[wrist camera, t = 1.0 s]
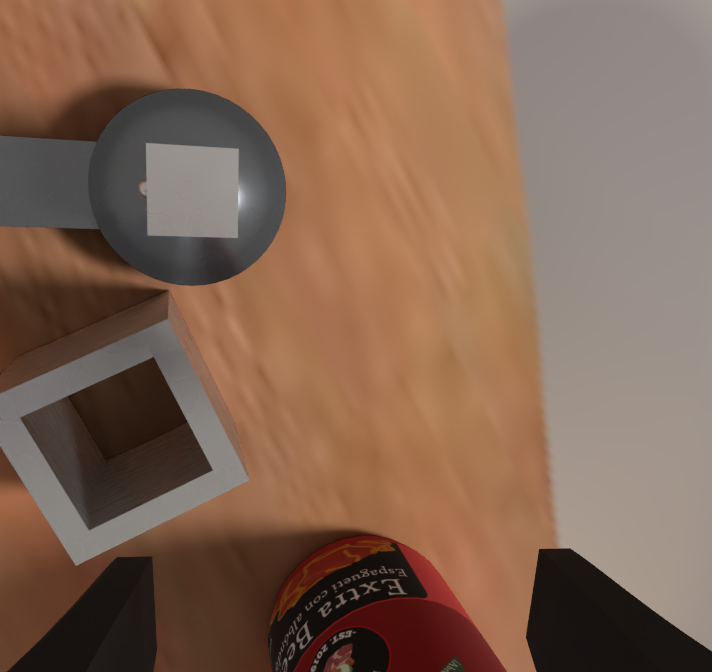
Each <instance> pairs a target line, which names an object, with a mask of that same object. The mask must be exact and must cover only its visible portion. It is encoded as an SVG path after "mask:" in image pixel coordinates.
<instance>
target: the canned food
mask: <svg viewBox="0 0 712 672" xmlns="http://www.w3.org/2000/svg"><path fill="white" fill-rule="evenodd" d="M268 645H269V653H270V660H271V666H272V671H273V672H507V671H506V670H505V668H504V667H503V665H502V664H501V662H500V661H499V659H498V658H497V657H496V655H495V654H494V652H493V651H492V649H491V648H490V646H489V645H488V643H487V642H486V641H485V639H484V638H483V636H482V635H481V633H480V632H479V630H478V629H477V627H476V626H475V624H474V623H473V622H472V620H471V619H470V617H469V616H468V614H467V613H466V611H465V610H464V608H463V607H462V606H461V604H460V603H459V601H458V600H457V598H456V597H455V595H454V594H453V592H452V591H451V589H450V588H449V587H448V585H447V584H446V582H445V581H444V579H443V578H442V576H441V575H440V573H439V572H438V571H437V570H436V569H435V567H434V566H433V565H432V564H431V563H430V561H428V560H427V559H426V558H424V557H423V556H422V555H420V554H419V553H418V552H416V551H415V550H413V549H411V548H410V547H408V546H406V545H404V544H401V543H399V542H397V541H395V540H393V539H388V538H384V537H379V536H356V537H351V538H345V539H341V540H339V541H336V542H333V543H331V544H328V545H326V546H324V547H322V548H321V549H319V550H317V551H316V552H314V553H312V554H311V555H310V556H308V557H307V558H306V559H305V560H304V561H303V562H302V563H300V564H299V565H298V566H297V567H296V568H295V570H294V571H293V572H292V573H291V575H290V576H289V577H288V578H287V580H286V581H285V583H284V585H283V587H282V589H281V590H280V592H279V594H278V596H277V600H276V603H275V606H274V609H273V613H272V617H271V621H270V627H269V637H268Z"/></svg>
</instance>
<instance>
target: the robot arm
mask: <svg viewBox="0 0 712 672" xmlns="http://www.w3.org/2000/svg"><path fill="white" fill-rule="evenodd" d="M526 639H527V642H528V645H529V649H530V652H531V655H532V658H533V662H534V665H535V668H536V671H537V672H712V651H710V650H709V649H707V648H706V647H704V646H703V645H701V644H700V643H698V642H697V641H695V640H694V639H692V638H691V637H689V636H688V635H687V634H685V633H684V632H682V631H681V630H679V629H678V628H677V627H675V626H674V625H672V624H671V623H669V622H668V621H667V620H665V619H664V618H663V617H661V616H660V615H658V614H657V613H656V612H654V611H653V610H651V609H650V608H649V607H648V606H646V605H645V604H643V603H642V602H641V601H640V600H638V599H637V598H636V597H634V596H633V595H631V594H630V593H629V592H628V591H626V590H625V589H624V588H622V587H621V586H620V585H619V584H617V583H616V582H615V581H613V580H612V579H611V578H609V577H608V576H607V575H606V574H604V573H603V572H602V571H600V570H599V569H598V568H596V567H595V566H594V565H592V564H591V563H590V562H588V561H587V560H586V559H584V558H583V557H582V556H580V555H579V554H577V553H576V552H574V551H573V550H571V549H539V554H538V561H537V567H536V574H535V581H534V587H533V594H532V600H531V607H530V614H529V620H528V627H527V634H526ZM156 652H157V643H156V623H155V604H154V585H153V566H152V557H117V558H116V559H115V560H114V561H113V562H111V563H110V565H109V566H108V567H107V568H106V569H105V570H104V571H103V573H102V574H101V575H100V576H99V577H98V578H97V579H96V580H95V582H94V583H93V584H92V585H91V586H90V587H89V588H88V590H87V591H86V592H85V593H84V594H83V595H82V596H81V597H80V598H79V600H78V601H77V602H76V603H75V604H74V605H73V606H72V607H71V608H70V609H69V610H68V611H67V613H66V614H65V615H64V616H63V617H62V618H61V619H60V620H59V621H58V622H57V623H56V624H55V625H54V626H53V627H52V628H51V629H50V630H49V631H48V632H47V633H46V635H45V636H44V637H43V638H42V639H41V640H40V641H39V642H38V643H37V644H36V645H35V646H34V647H33V648H31V649H30V650H29V651H28V652H27V653H26V654H25V655H24V656H23V657H22V658H21V659H20V660H19V661H18V662H17V663H16V664H15V665H14V666H13V667H11V668H10V669H9V670H8V671H7V672H153V669H154V664H155V658H156Z"/></svg>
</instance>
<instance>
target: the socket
mask: <svg viewBox="0 0 712 672" xmlns="http://www.w3.org/2000/svg"><path fill="white" fill-rule="evenodd" d="M153 357H154V358H155V360H156V362H157V364H158V366H159V368H160V370H161V372H162V374H163V376H164V377H165V379H166V381H167V383H168V385H169V387H170V389H171V391H172V393H173V395H174V397H175V398H176V400H177V402H178V404H179V406H180V408H181V410H182V412H183V414H184V416H185V418H186V419H187V421H188V422H187V423H185V424H183V425H181V426H179V427H177V428H175V429H173V430H170V431H168V432H166V433H164V434H162V435H160V436H158V437H156V438H153V439H151V440H149V441H147V442H145V443H143V444H141V445H139V446H137V447H134V448H132V449H130V450H128V451H126V452H124V453H122V454H120V455H117V456H115V457H113V458H111V459H109V460H107V461H106V460H105V459H104V457H103V455H102V454H101V452H100V450H99V448H98V447H97V445H96V443H95V442H94V440H93V438H92V436H91V435H90V433H89V431H88V429H87V428H86V426H85V424H84V423H83V421H82V419H81V417H80V416H79V414H78V412H77V411H76V409H75V407H74V405H73V404H72V402H71V400H70V398H69V397H68V396H69V395H71V394H73V393H75V392H77V391H80V390H82V389H84V388H86V387H89V386H91V385H93V384H95V383H97V382H100V381H102V380H104V379H106V378H108V377H111V376H113V375H115V374H117V373H119V372H122V371H124V370H126V369H128V368H130V367H133V366H135V365H137V364H139V363H142V362H144V361H146V360H148V359H150V358H153ZM0 447H1V448H2V450H3V452H4V453H5V455H6V456H7V458H8V459H9V461H10V463H11V464H12V466H13V467H14V469H15V471H16V472H17V474H18V475H19V477H20V478H21V480H22V482H23V483H24V485H25V486H26V488H27V489H28V491H29V493H30V494H31V496H32V497H33V499H34V501H35V502H36V504H37V505H38V507H39V508H40V510H41V512H42V513H43V515H44V516H45V518H46V519H47V521H48V523H49V524H50V526H51V527H52V529H53V531H54V532H55V534H56V535H57V537H58V538H59V540H60V542H61V543H62V545H63V546H64V548H65V549H66V551H67V553H68V554H69V556H70V557H71V559H72V561H73V562H74V564H75V565H76V566H77V565H79V564H81V563H83V562H85V561H87V560H89V559H91V558H93V557H95V556H97V555H99V554H101V553H103V552H105V551H107V550H109V549H111V548H113V547H115V546H117V545H119V544H121V543H123V542H125V541H127V540H129V539H131V538H133V537H135V536H138V535H140V534H142V533H144V532H146V531H148V530H150V529H152V528H154V527H156V526H158V525H160V524H162V523H164V522H166V521H168V520H170V519H172V518H174V517H176V516H178V515H180V514H182V513H184V512H186V511H188V510H190V509H192V508H194V507H196V506H198V505H200V504H203V503H205V502H207V501H209V500H211V499H213V498H215V497H217V496H219V495H221V494H223V493H225V492H227V491H229V490H231V489H233V488H235V487H237V486H239V485H241V484H243V483H245V482H247V481H249V476H248V472H247V468H246V464H245V460H244V456H243V452H242V448H241V444H240V440H239V436H238V432H237V428H236V424H235V422H234V420H233V418H232V416H231V414H230V412H229V410H228V408H227V406H226V404H225V402H224V400H223V398H222V396H221V394H220V392H219V389H218V387H217V385H216V383H215V381H214V379H213V377H212V375H211V373H210V371H209V369H208V367H207V365H206V363H205V361H204V359H203V357H202V355H201V353H200V351H199V349H198V347H197V345H196V343H195V341H194V339H193V337H192V335H191V333H190V331H189V329H188V327H187V325H186V323H185V321H184V319H183V317H182V315H181V313H180V311H179V309H178V307H177V305H176V303H175V301H174V299H173V297H172V295H171V293H170V291H167V292H164V293H162V294H160V295H158V296H155V297H153V298H151V299H148V300H146V301H144V302H142V303H139V304H137V305H135V306H132V307H130V308H128V309H126V310H123V311H121V312H119V313H117V314H114V315H112V316H110V317H107V318H105V319H103V320H101V321H98V322H96V323H94V324H91V325H89V326H87V327H85V328H82V329H80V330H78V331H76V332H73V333H71V334H69V335H66V336H64V337H62V338H60V339H57V340H55V341H53V342H50V343H48V344H46V345H44V346H41V347H39V348H37V349H35V350H32V351H30V352H28V353H25V354H23V355H21V356H19V357H16V359H15V360H14V361H13V362H12V363H11V364H10V365H9V366H8V368H7V369H6V370H5V371H4V372H3V373H2V374H1V375H0Z"/></svg>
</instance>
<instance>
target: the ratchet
mask: <svg viewBox="0 0 712 672" xmlns="http://www.w3.org/2000/svg"><path fill="white" fill-rule="evenodd" d="M285 201H286V182H285V176H284V170H283V167H282V163H281V160H280V157H279V155H278V152H277V150H276V148H275V146H274V144H273V142H272V141H271V139H270V137H269V136H268V134H267V133H266V132H265V130H264V129H263V128H262V126H261V125H260V124H259V123H258V122H257V121H256V120H255V119H254V118H253V117H252V116H251V115H250V114H249V113H247V112H246V111H245V110H243V109H242V108H241V107H239V106H238V105H236V104H234V103H233V102H231V101H229V100H227V99H225V98H223V97H220V96H218V95H216V94H212V93H209V92H205V91H200V90H194V89H171V90H163V91H159V92H155V93H151V94H149V95H146V96H144V97H142V98H139V99H137V100H136V101H134V102H132V103H131V104H129V105H127V106H126V107H125V108H124V109H122V110H121V111H120V112H119V113H117V114H116V115H115V116H114V118H113V119H112V120H111V121H110V122H109V123H108V124H107V126H106V127H105V129H104V130H103V132H102V133H101V134H100V136H99V138H98V141H97V142H94V141H78V140H61V139H45V138H29V137H13V136H0V226H12V227H45V228H78V229H100V231H101V232H102V234H103V236H104V238H105V239H106V240H107V242H108V243H109V244H110V246H111V247H112V248H113V249H114V250H115V251H116V253H117V254H118V255H119V256H120V257H121V258H122V259H124V260H125V261H126V262H127V263H129V264H130V265H131V266H132V267H134V268H136V269H137V270H139V271H140V272H142V273H144V274H146V275H148V276H150V277H152V278H155V279H158V280H161V281H164V282H167V283H172V284H177V285H189V286H194V285H206V284H212V283H217V282H220V281H223V280H226V279H229V278H231V277H233V276H235V275H237V274H239V273H241V272H242V271H244V270H245V269H247V268H248V267H250V266H251V265H252V264H253V263H254V262H256V261H257V260H258V259H259V258H260V257H261V256H262V254H263V253H264V252H265V251H266V250H267V248H268V247H269V246H270V244H271V243H272V241H273V239H274V237H275V235H276V234H277V232H278V229H279V227H280V224H281V221H282V218H283V213H284V209H285Z"/></svg>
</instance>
